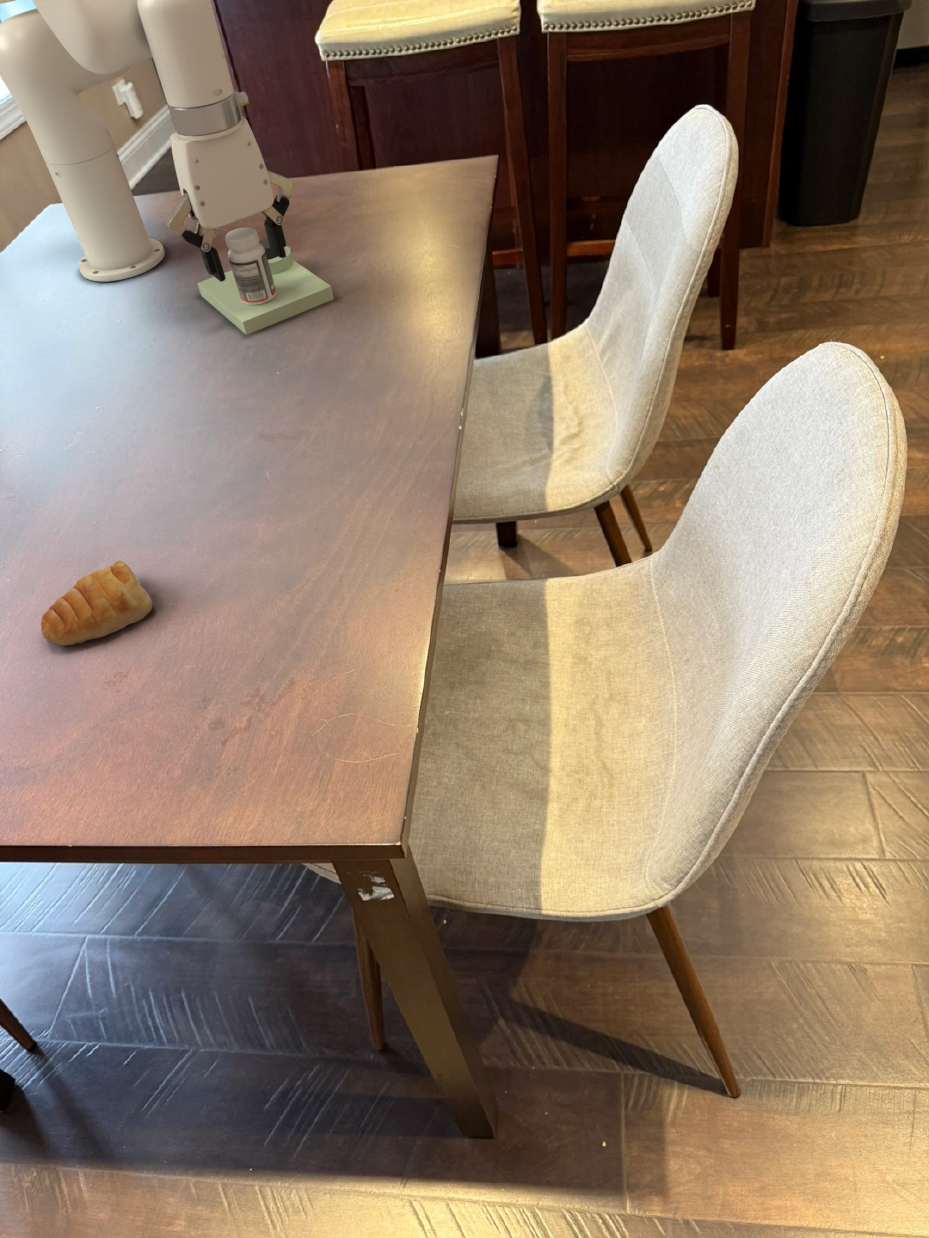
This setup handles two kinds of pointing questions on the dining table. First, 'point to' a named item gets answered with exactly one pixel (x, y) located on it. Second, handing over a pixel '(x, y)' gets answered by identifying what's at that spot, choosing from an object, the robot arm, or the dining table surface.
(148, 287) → the dining table surface
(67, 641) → the pastry
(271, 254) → the button
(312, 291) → the green button base
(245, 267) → the pill bottle
